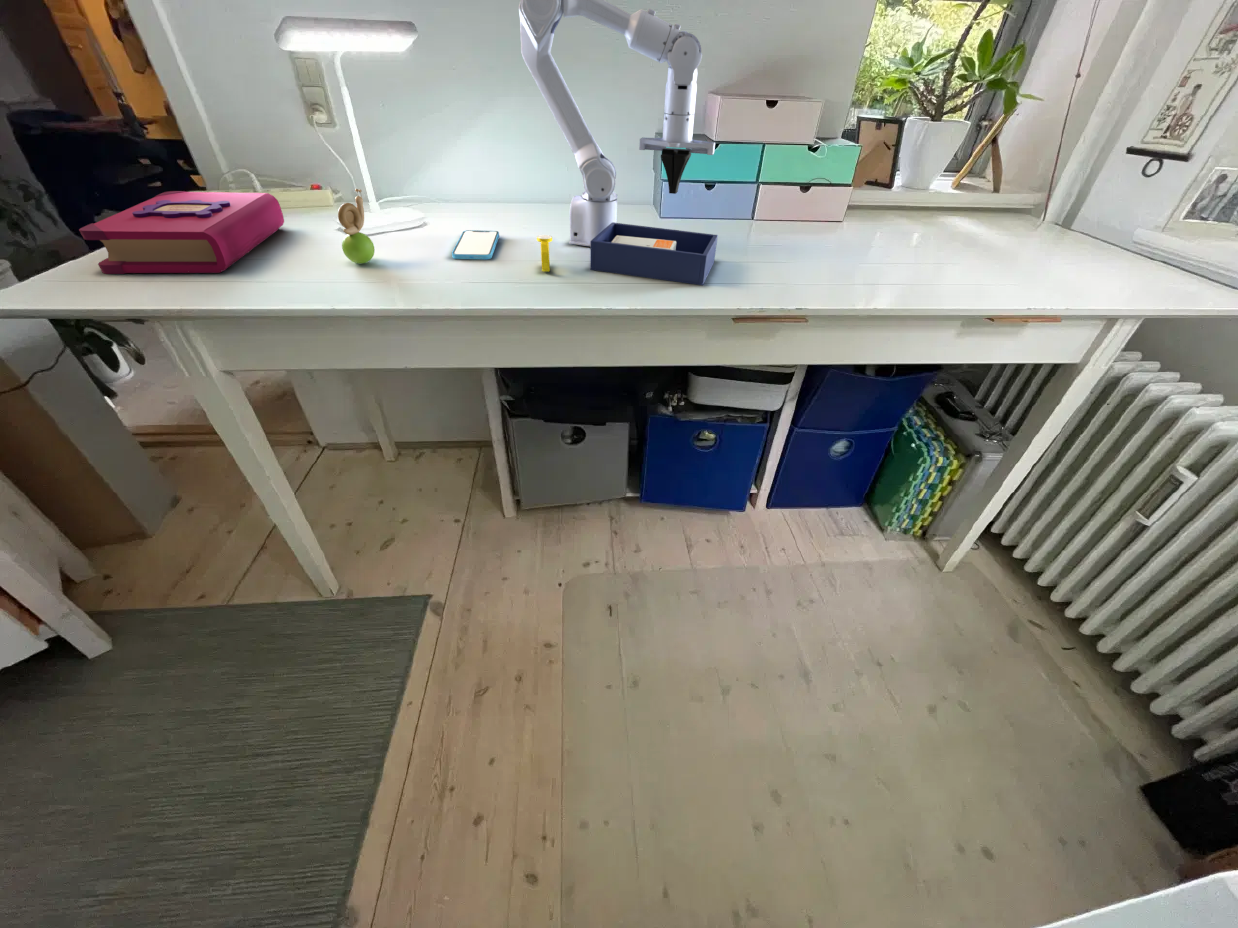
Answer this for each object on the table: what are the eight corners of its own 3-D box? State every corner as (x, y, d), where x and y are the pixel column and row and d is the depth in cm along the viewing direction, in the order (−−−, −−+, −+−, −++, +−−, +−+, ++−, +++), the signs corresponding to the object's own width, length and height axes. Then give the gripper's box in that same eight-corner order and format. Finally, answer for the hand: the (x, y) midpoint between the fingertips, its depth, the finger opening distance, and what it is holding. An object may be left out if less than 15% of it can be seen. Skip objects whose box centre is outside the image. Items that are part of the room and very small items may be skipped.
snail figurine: (387, 259, 105) (371, 190, 97) (364, 269, 100) (346, 198, 92) (363, 255, 106) (346, 187, 99) (339, 265, 101) (320, 194, 94)
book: (287, 228, 118) (275, 189, 113) (229, 273, 96) (211, 228, 91) (182, 227, 115) (164, 187, 111) (98, 274, 94) (72, 227, 89)
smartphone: (450, 254, 105) (463, 230, 117) (451, 260, 106) (464, 235, 118) (490, 255, 106) (499, 231, 117) (491, 261, 107) (499, 236, 118)
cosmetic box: (672, 249, 101) (609, 243, 103) (670, 272, 104) (609, 266, 105) (676, 239, 106) (616, 234, 107) (674, 262, 108) (615, 256, 110)
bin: (590, 269, 104) (590, 241, 101) (611, 249, 114) (611, 222, 111) (702, 285, 100) (706, 255, 96) (714, 262, 110) (717, 235, 107)
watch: (553, 275, 101) (552, 242, 97) (538, 275, 101) (536, 241, 97) (553, 264, 106) (552, 232, 102) (538, 264, 105) (537, 232, 102)
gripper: (636, 113, 101) (633, 193, 110) (714, 118, 98) (705, 200, 107) (645, 109, 107) (642, 186, 115) (720, 114, 104) (711, 192, 112)
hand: (673, 192), depth 111 cm, fingers closed
